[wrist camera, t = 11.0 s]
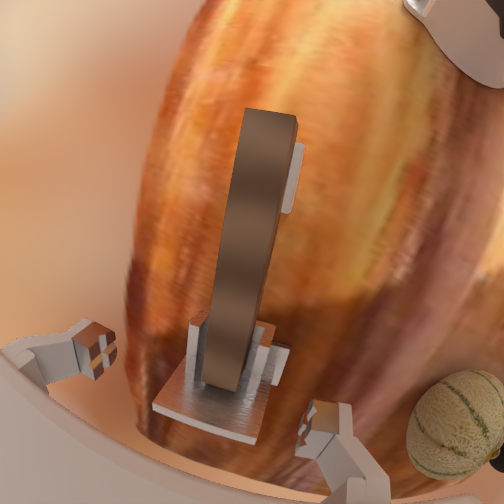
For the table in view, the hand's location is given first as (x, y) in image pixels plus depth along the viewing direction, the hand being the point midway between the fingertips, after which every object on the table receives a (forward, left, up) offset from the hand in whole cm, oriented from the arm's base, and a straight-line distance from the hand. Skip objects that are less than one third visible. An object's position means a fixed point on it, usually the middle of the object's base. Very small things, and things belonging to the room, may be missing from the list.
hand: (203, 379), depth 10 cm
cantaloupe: (+14, +28, -20) cm, 37 cm away
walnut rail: (0, -2, -16) cm, 16 cm away
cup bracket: (+12, -2, -20) cm, 23 cm away
